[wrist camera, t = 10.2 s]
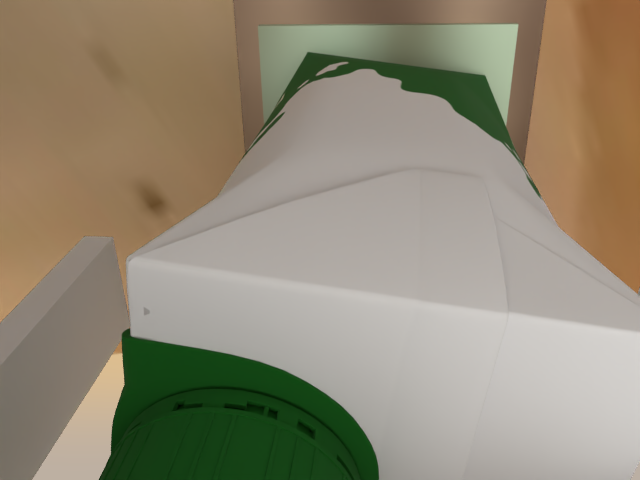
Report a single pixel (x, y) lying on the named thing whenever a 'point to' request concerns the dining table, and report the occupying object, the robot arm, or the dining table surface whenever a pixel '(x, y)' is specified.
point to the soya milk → (377, 305)
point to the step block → (391, 46)
